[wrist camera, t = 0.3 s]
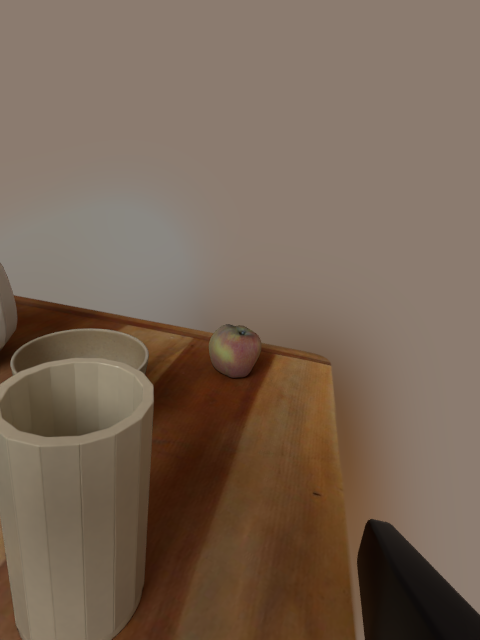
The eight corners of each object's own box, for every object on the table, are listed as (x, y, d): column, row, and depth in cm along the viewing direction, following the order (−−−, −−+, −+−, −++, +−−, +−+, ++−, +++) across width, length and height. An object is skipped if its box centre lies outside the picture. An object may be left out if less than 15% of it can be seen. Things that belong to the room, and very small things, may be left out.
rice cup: (109, 676, 17) (109, 463, 13) (-17, 638, 18) (-60, 422, 13) (160, 549, 23) (174, 372, 18) (64, 524, 24) (54, 347, 19)
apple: (192, 380, 41) (196, 332, 39) (220, 353, 48) (225, 310, 46) (242, 397, 40) (250, 347, 38) (264, 366, 47) (271, 322, 45)
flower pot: (99, 383, 39) (99, 319, 36) (169, 426, 34) (174, 356, 31) (-5, 427, 31) (-16, 349, 28) (64, 492, 26) (59, 406, 23)
